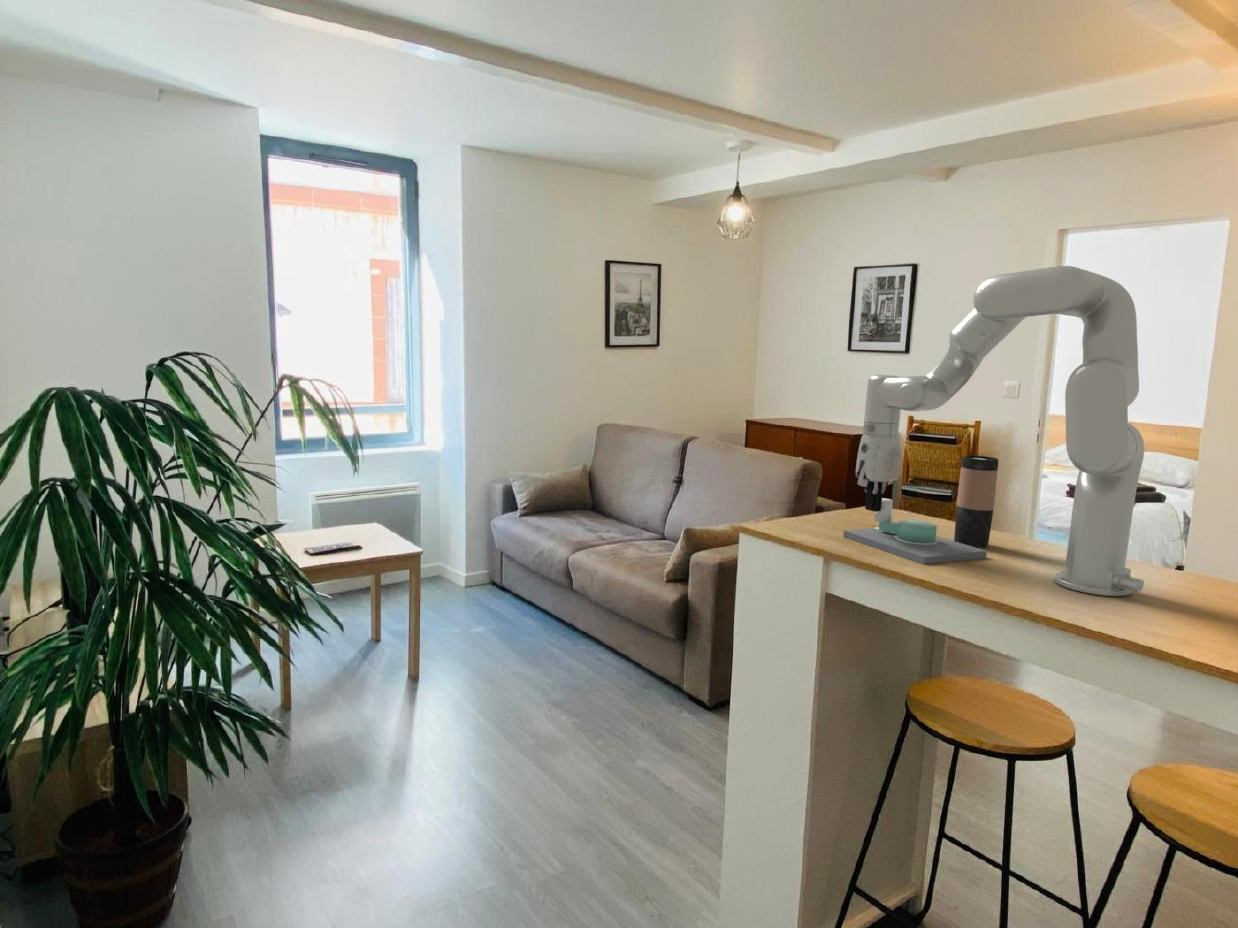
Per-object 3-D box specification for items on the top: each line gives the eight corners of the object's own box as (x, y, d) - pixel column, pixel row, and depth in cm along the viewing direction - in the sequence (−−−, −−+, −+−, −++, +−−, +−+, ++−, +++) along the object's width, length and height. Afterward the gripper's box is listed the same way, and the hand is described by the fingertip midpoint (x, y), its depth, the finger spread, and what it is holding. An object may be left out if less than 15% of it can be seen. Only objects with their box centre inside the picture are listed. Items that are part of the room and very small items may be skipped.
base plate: (986, 557, 166) (986, 549, 166) (923, 564, 158) (924, 556, 158) (901, 532, 187) (902, 525, 187) (843, 536, 180) (843, 529, 179)
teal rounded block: (942, 539, 172) (946, 508, 171) (921, 543, 167) (924, 511, 166) (886, 525, 184) (888, 496, 183) (864, 529, 179) (867, 499, 178)
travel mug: (995, 549, 174) (1005, 460, 171) (960, 547, 174) (970, 459, 171) (980, 540, 181) (989, 456, 179) (947, 539, 182) (956, 454, 179)
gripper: (871, 433, 168) (863, 516, 170) (916, 431, 176) (907, 511, 178) (844, 428, 174) (837, 509, 177) (888, 427, 182) (881, 504, 185)
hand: (872, 510), depth 177 cm, fingers closed
